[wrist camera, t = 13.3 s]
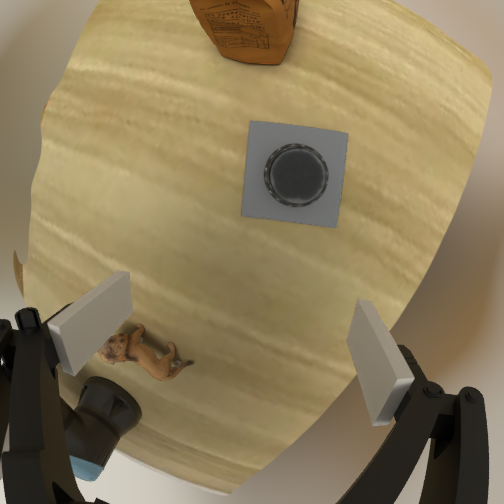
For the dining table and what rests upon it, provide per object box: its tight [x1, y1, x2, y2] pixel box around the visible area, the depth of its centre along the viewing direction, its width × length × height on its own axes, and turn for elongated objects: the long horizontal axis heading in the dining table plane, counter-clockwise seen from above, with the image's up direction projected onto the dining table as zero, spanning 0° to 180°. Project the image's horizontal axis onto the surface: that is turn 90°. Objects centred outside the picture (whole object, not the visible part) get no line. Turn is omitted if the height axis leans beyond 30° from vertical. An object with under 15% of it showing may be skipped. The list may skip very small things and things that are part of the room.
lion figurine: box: [97, 324, 194, 381], centre depth 40 cm, size 15×5×9 cm, turn 68°
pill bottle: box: [264, 143, 329, 207], centre depth 27 cm, size 6×6×11 cm
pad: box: [241, 121, 348, 228], centre depth 33 cm, size 12×12×1 cm
